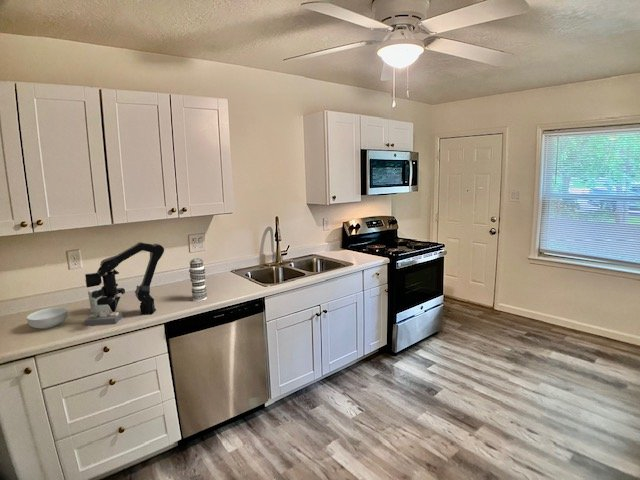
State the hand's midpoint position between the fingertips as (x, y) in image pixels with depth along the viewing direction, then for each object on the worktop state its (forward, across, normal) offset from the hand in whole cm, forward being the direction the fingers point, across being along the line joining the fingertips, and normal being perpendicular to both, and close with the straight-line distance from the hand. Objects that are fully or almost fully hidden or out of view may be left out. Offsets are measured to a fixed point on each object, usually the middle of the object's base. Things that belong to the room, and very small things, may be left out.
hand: (113, 311), depth 189 cm
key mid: (+2, 0, -5) cm, 5 cm away
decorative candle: (+5, -26, +38) cm, 47 cm away
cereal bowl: (+5, +1, -32) cm, 32 cm away
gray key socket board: (+5, 0, -5) cm, 7 cm away
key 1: (+4, 0, -10) cm, 11 cm away
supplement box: (+5, -16, -15) cm, 22 cm away
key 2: (+4, 0, 0) cm, 4 cm away
